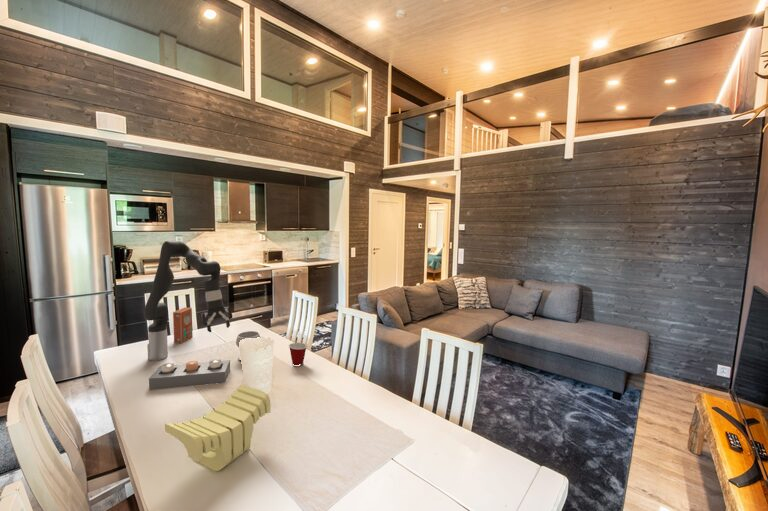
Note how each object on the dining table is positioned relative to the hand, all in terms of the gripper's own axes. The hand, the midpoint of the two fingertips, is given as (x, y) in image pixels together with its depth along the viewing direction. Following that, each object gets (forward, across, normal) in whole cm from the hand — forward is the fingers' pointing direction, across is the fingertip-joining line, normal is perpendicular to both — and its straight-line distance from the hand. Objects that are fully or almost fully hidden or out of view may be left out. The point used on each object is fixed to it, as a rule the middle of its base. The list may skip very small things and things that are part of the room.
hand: (219, 329), depth 172 cm
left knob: (+18, +24, -15) cm, 33 cm away
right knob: (+21, +4, -7) cm, 23 cm away
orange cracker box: (+12, +7, -79) cm, 80 cm away
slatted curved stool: (+37, +17, +56) cm, 69 cm away
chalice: (+25, -18, -23) cm, 38 cm away
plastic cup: (+31, -38, +3) cm, 49 cm away
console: (+24, +14, -12) cm, 30 cm away
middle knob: (+20, +14, -11) cm, 26 cm away
